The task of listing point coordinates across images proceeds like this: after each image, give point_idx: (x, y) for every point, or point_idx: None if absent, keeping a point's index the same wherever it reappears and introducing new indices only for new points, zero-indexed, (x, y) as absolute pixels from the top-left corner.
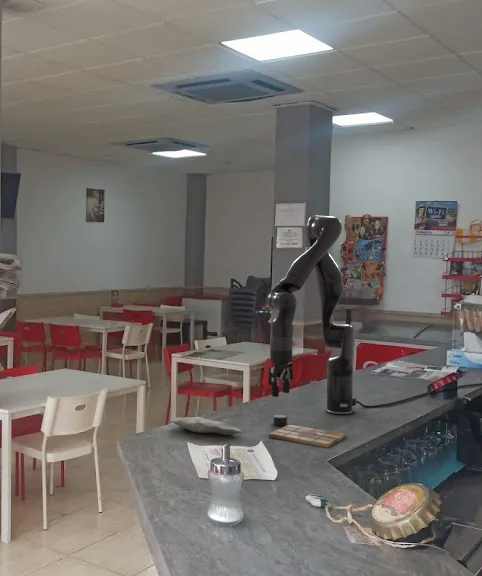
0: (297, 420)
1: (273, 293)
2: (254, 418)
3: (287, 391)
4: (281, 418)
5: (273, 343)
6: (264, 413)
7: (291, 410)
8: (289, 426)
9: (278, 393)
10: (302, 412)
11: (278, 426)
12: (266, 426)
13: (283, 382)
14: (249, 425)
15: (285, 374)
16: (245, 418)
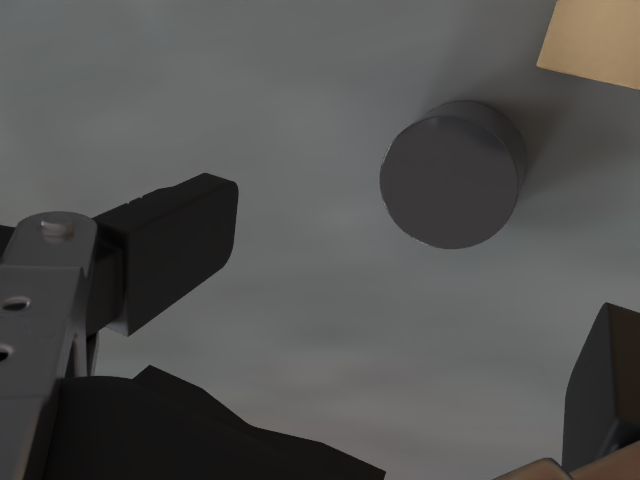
0: (241, 54)
1: None
2: (328, 371)
3: (225, 201)
4: (515, 160)
5: None
6: (173, 317)
7: (18, 160)
8: (636, 40)
9: (625, 329)
10: (20, 75)
11: (525, 168)
12: (551, 268)
13: (131, 325)
14: (563, 398)
15: (118, 416)
16: (355, 426)
